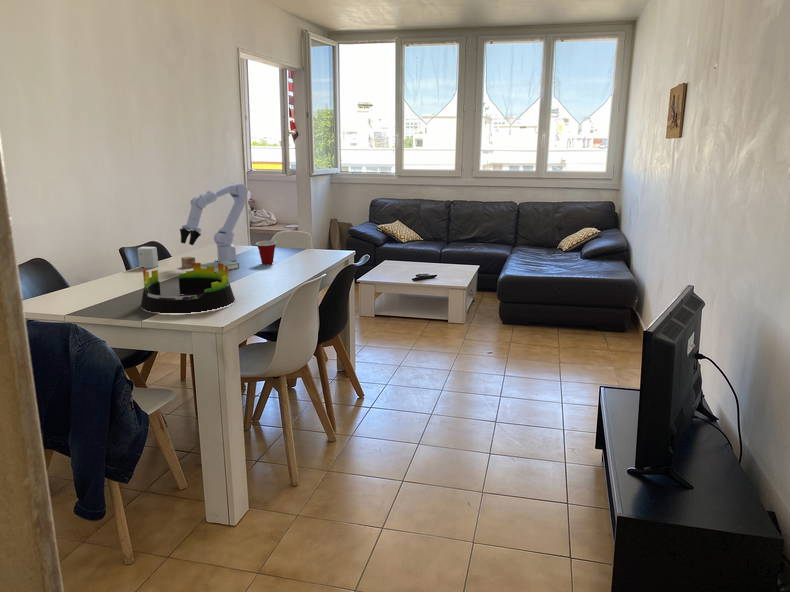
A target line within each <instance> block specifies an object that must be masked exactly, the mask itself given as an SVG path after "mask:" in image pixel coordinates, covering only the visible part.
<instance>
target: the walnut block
mask: <svg viewBox="0 0 790 592" xmlns="http://www.w3.org/2000/svg"><path fill="white" fill-rule="evenodd" d="M180 261H181V262H180V263H181V267H182V266H183V267H182V268H184V267H186V268H185V269H190V268H189V267H192V268H193V263H196V257H193V256H184V257H181V260H180Z"/></svg>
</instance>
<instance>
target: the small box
mask: <svg viewBox="0 0 790 592" xmlns="http://www.w3.org/2000/svg"><path fill="white" fill-rule="evenodd" d="M157 250H158V249H157V246H140V247H138V248H137V259H138V266H139V267H138V268H139V269H142V268H141V267H144V268H143V269H155V268H158V267H159V258H158V251H157ZM157 266H158V267H157ZM154 267H155V268H154Z"/></svg>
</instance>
